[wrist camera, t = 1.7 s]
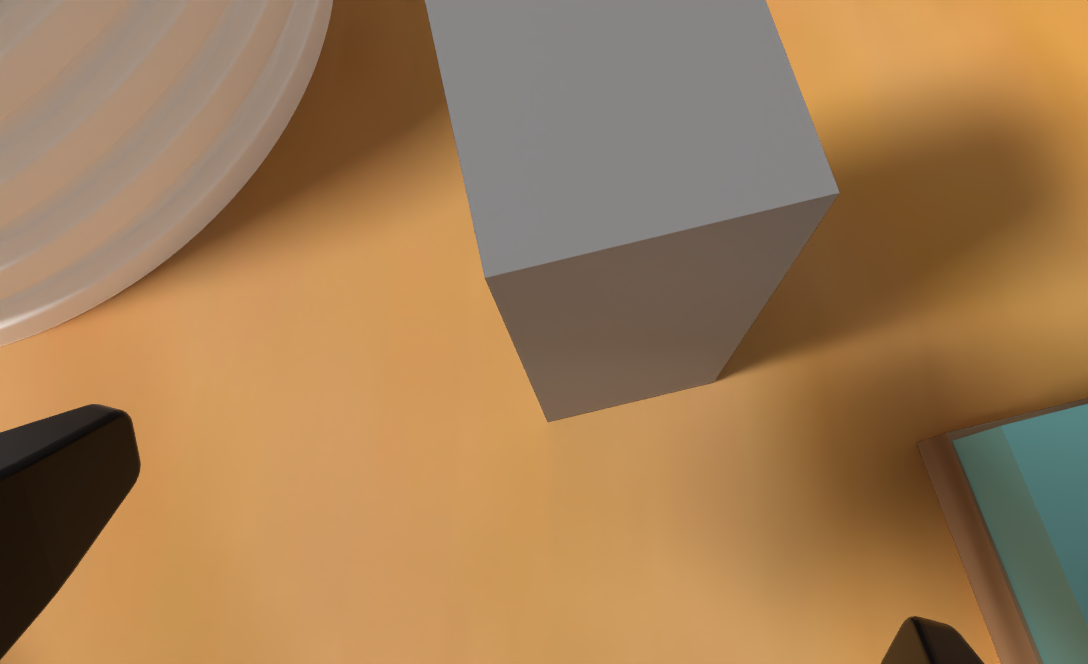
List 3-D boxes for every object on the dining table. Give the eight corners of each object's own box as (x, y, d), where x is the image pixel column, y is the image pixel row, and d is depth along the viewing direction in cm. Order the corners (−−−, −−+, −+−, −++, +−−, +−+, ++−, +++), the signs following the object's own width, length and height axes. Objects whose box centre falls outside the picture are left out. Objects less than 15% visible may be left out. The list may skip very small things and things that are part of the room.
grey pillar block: (547, 422, 22) (485, 278, 10) (512, 268, 23) (422, -12, 12) (713, 382, 22) (839, 192, 10) (667, 230, 23) (731, -87, 12)
